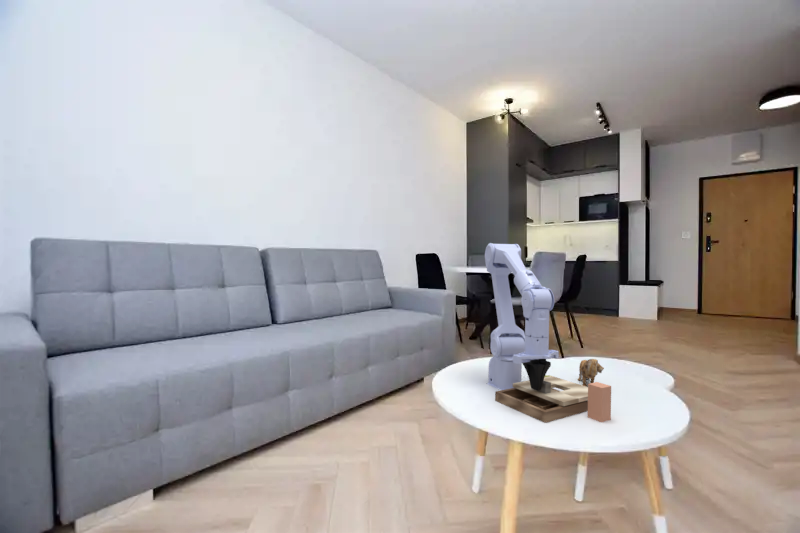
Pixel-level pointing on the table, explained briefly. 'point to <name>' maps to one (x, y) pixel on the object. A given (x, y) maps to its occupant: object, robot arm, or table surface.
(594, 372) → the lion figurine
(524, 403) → the wooden box
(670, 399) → the table surface
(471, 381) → the table surface
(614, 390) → the table surface
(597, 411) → the terracotta rectangular block
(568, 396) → the lid
